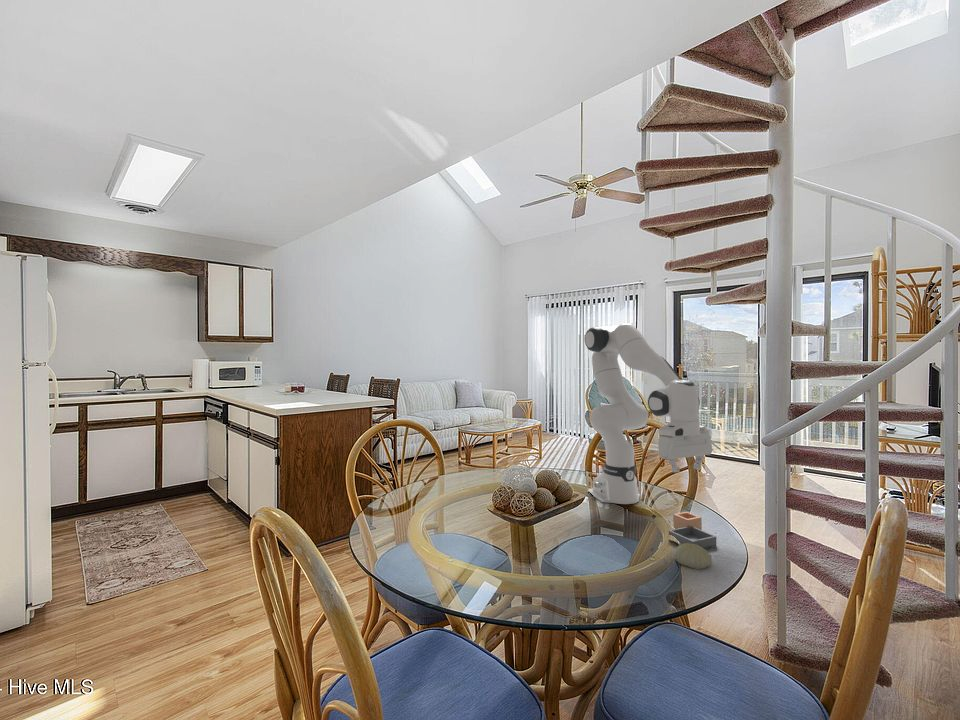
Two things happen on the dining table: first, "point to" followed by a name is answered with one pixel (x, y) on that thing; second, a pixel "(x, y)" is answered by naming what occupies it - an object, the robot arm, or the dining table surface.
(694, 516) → the terracotta crate
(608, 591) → the dining table surface
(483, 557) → the dining table surface
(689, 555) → the sea urchin shell
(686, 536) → the charcoal crate
